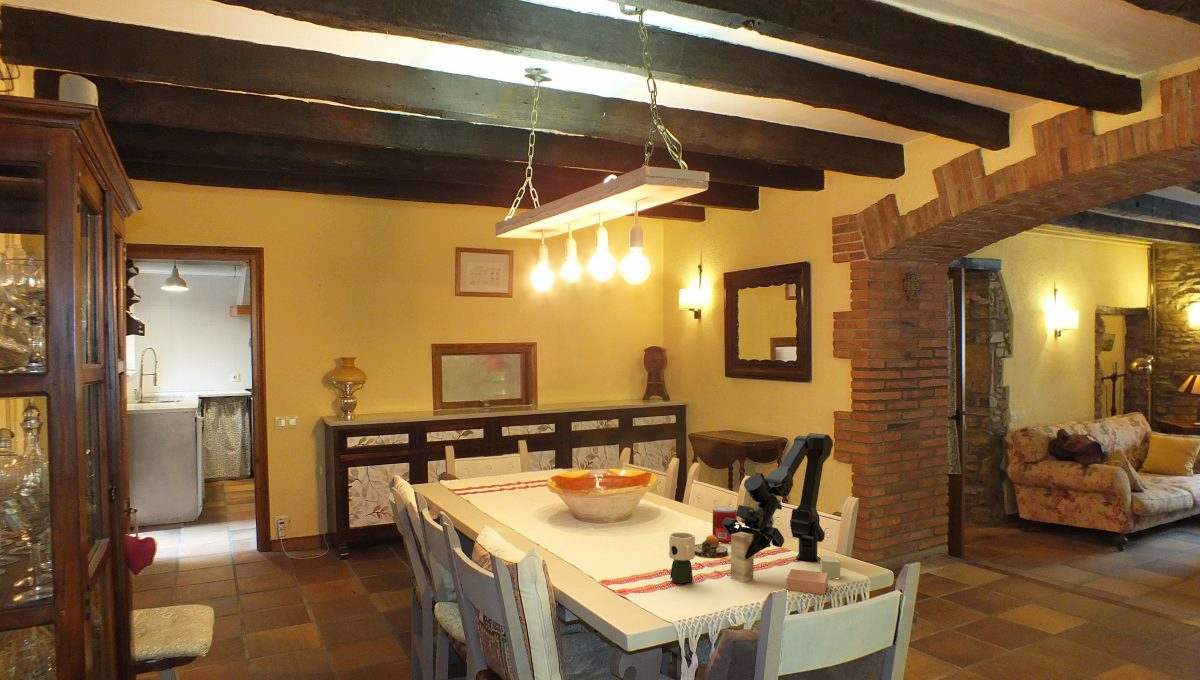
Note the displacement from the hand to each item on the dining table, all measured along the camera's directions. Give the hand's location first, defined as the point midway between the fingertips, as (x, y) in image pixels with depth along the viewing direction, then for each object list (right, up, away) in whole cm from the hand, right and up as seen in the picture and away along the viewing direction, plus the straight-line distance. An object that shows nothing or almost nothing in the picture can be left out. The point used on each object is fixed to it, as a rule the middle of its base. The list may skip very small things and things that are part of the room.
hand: (739, 556), depth 215 cm
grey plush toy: (+18, -8, +52) cm, 56 cm away
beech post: (+1, -7, +1) cm, 7 cm away
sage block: (+27, -7, +5) cm, 28 cm away
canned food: (+3, -8, +45) cm, 46 cm away
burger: (-4, -8, +29) cm, 30 cm away
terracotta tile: (+18, -7, -6) cm, 20 cm away
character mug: (-17, -7, -3) cm, 18 cm away
